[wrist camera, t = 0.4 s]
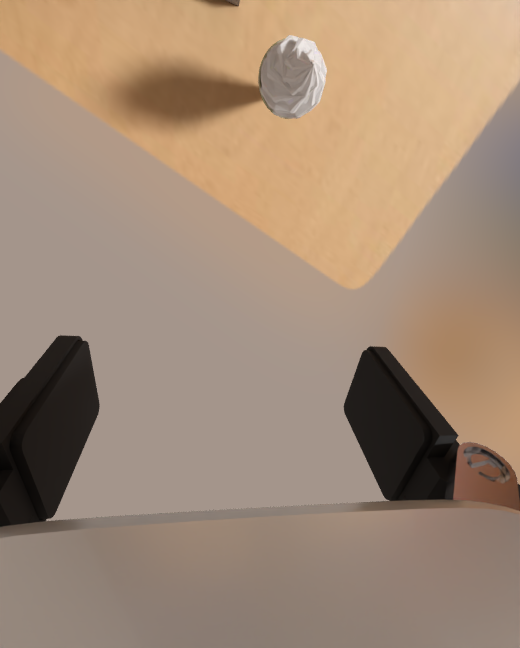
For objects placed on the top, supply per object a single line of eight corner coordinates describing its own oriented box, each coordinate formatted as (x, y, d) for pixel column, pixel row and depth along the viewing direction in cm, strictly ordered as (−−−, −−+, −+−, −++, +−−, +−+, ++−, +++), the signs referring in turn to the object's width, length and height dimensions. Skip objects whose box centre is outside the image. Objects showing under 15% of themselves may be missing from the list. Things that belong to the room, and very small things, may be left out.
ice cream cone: (243, 114, 32) (261, 97, 19) (256, 52, 29) (287, -15, 17) (289, 130, 33) (335, 124, 20) (305, 72, 31) (369, 24, 18)
